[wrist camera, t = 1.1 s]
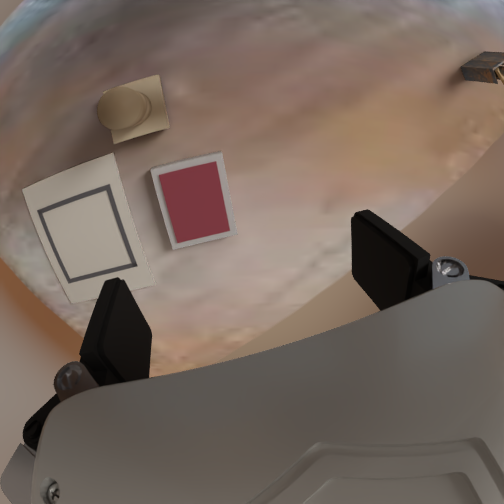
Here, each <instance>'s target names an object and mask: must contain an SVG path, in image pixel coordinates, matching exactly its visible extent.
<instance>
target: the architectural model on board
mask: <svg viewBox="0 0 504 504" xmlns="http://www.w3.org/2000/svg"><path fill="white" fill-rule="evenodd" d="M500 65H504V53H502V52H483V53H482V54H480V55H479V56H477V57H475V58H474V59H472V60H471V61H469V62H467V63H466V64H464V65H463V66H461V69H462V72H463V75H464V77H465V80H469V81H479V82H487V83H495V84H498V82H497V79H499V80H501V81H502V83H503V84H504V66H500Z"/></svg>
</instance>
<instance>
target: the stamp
mask: <svg viewBox="0 0 504 504" xmlns="http://www.w3.org/2000/svg"><path fill="white" fill-rule="evenodd" d="M97 115H98V118H99V120H100V122H101V123H102V124H103V125H104V126H105V127H107V128H109V129H111V134H112V138H113V142H114V144H116V143H119V142H122V141H125V140H128V139H132V138H135V137H138V136H142V135H145V134H149V133H152V132H156V131H159V130H163V129H167V128H169V127H170V126H169V121H168V116H167V111H166V106H165V101H164V96H163V91H162V85H161V80H160V76H159V75H154V76H150V77H147V78H143V79H140V80H136V81H133V82H130V83H127V84H124V85H121V86H118V87H114V88H112V89H109V90H106V91H104V92H103V96H102V97H101V99H100V101H99V103H98V107H97Z"/></svg>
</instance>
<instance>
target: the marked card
mask: <svg viewBox="0 0 504 504" xmlns="http://www.w3.org/2000/svg"><path fill="white" fill-rule="evenodd" d="M22 191H23V194H24V197H25V200H26V203H27V206H28V209H29V212H30V215H31V217H32V220H33V223H34V225H35V228H36V230H37V233H38V235H39V238H40V240H41V242H42V245H43V247H44V249H45V252H46V254H47V256H48V258H49V260H50V263H51V265H52V267H53V269H54V271H55V273H56V275H57V277H58V279H59V281H60V283H61V285H62V287H63V289H64V291H65V293H66V295H67V296H68V298H69V300H70V302H71V304H73V303H78V302H82V301H87V300H91V299H96V298H98V297H99V294H100V292H101V289H102V286H103V284H104V282H105V281H106V280H109V279H112V278H116V277H119V278H120V279H121V280H122V279H123V280H125V282H126V284H127V286H128V288H129V290H130V291H132V290H136V289H140V288H145V287H149V286H154V285H156V283H155V280H154V277H153V275H152V272H151V270H150V267H149V264H148V261H147V259H146V256H145V253H144V250H143V248H142V245H141V242H140V239H139V236H138V233H137V230H136V227H135V224H134V221H133V218H132V215H131V212H130V209H129V205H128V202H127V199H126V196H125V192H124V189H123V185H122V182H121V178H120V175H119V171H118V167H117V164H116V160H115V156H114V153H111V154H108V155H105V156H102V157H99V158H96V159H93V160H91V161H88V162H85V163H82V164H80V165H77V166H75V167H72V168H70V169H67V170H65V171H62V172H60V173H57V174H55V175H53V176H50V177H48V178H46V179H43V180H41V181H39V182H37V183H35V184H32V185H30V186H28V187H26V188H24V189H22Z"/></svg>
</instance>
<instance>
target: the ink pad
mask: <svg viewBox="0 0 504 504" xmlns="http://www.w3.org/2000/svg"><path fill="white" fill-rule="evenodd" d="M151 174H152V178H153V182H154V186H155V190H156V193H157V197H158V201H159V204H160V208H161V211H162V215H163V218H164V222H165V225H166V229H167V232H168V235H169V239H170V242H171V245H172V248H173V250H174V249H178V248H182V247H187V246H191V245H195V244H199V243H203V242H208V241H212V240H216V239H220V238H225V237H229V236H233V235H238V234H237V228H236V223H235V218H234V213H233V208H232V203H231V197H230V192H229V187H228V182H227V176H226V171H225V166H224V160H223V155H222V152H221V151H218V152H213V153H208V154H204V155H199V156H195V157H191V158H187V159H182V160H178V161H174V162H170V163H167V164H163V165H159V166H155V167H152V168H151Z"/></svg>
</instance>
